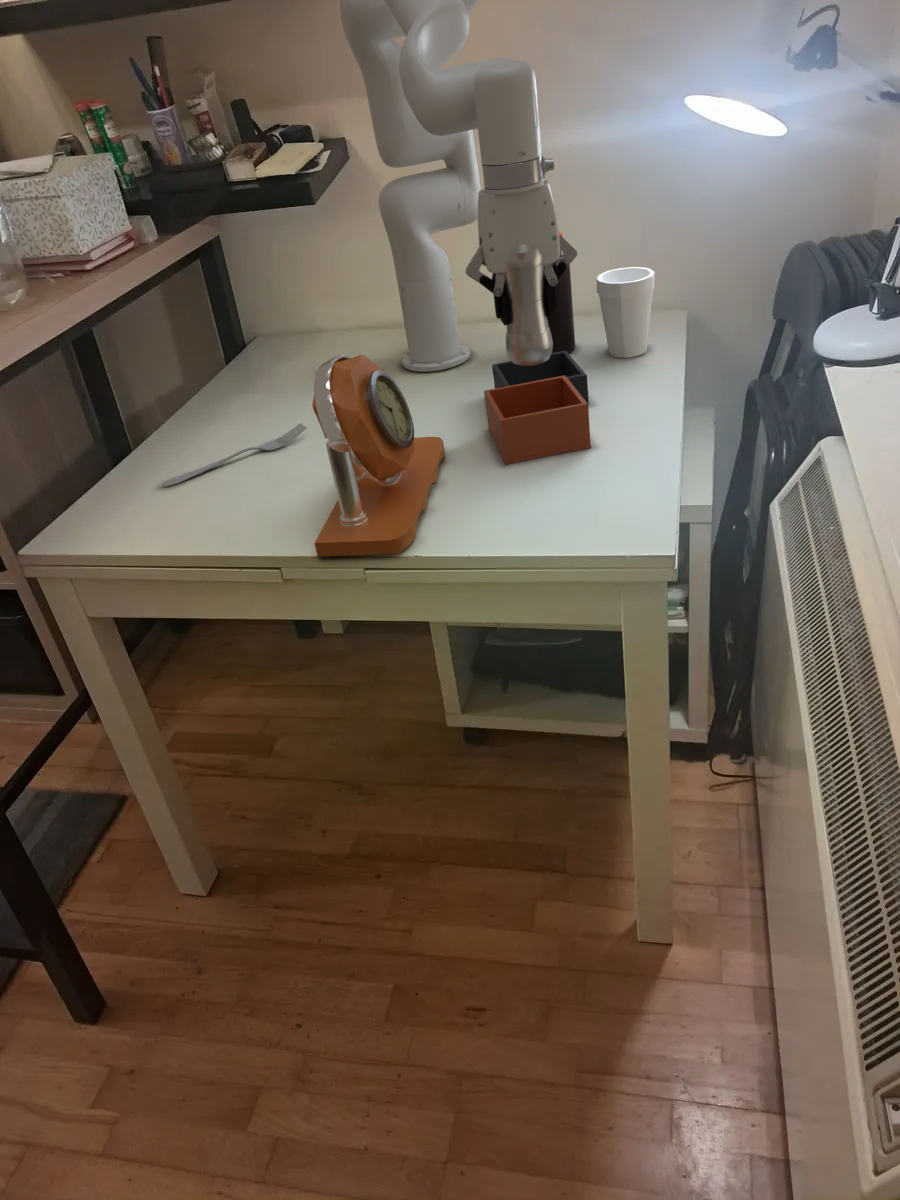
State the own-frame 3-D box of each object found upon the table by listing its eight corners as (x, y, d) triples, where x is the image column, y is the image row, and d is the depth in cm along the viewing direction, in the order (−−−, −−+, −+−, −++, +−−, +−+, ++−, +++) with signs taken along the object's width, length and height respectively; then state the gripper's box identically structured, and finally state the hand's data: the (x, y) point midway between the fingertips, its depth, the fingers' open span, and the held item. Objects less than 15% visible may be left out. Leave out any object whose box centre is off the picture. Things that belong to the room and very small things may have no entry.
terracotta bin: (488, 431, 142) (483, 390, 139) (568, 416, 143) (565, 375, 139) (505, 464, 132) (500, 421, 128) (590, 447, 133) (588, 404, 129)
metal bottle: (523, 375, 127) (507, 221, 117) (499, 363, 133) (481, 215, 122) (563, 362, 129) (551, 209, 119) (537, 351, 135) (524, 204, 124)
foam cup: (653, 339, 166) (652, 264, 159) (658, 357, 158) (656, 279, 151) (599, 345, 168) (595, 271, 160) (601, 363, 160) (597, 286, 153)
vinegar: (535, 358, 166) (524, 241, 155) (540, 345, 172) (530, 231, 161) (573, 356, 165) (565, 238, 154) (577, 343, 170) (570, 228, 159)
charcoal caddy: (495, 393, 155) (491, 364, 152) (568, 379, 156) (566, 350, 153) (510, 420, 145) (507, 389, 142) (588, 405, 145) (586, 374, 143)
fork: (160, 483, 143) (156, 472, 142) (302, 432, 152) (300, 422, 152) (166, 489, 141) (163, 479, 140) (310, 437, 150) (308, 427, 149)
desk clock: (314, 559, 117) (276, 407, 106) (370, 455, 141) (344, 322, 130) (409, 556, 114) (380, 400, 103) (450, 450, 138) (430, 315, 127)
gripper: (571, 159, 121) (580, 300, 131) (442, 182, 121) (460, 322, 130) (587, 167, 115) (595, 314, 125) (451, 192, 114) (469, 337, 124)
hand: (526, 317), depth 128 cm, fingers closed on metal bottle, 5 cm apart
